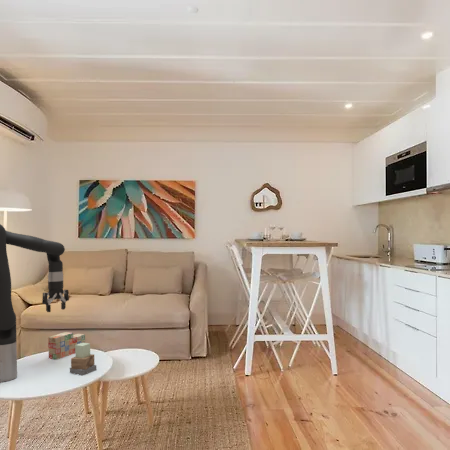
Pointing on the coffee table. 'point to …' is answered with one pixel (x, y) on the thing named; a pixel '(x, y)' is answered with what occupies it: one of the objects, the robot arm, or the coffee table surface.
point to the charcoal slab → (83, 370)
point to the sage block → (82, 350)
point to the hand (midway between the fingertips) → (56, 310)
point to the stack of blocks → (63, 344)
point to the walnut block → (82, 362)
